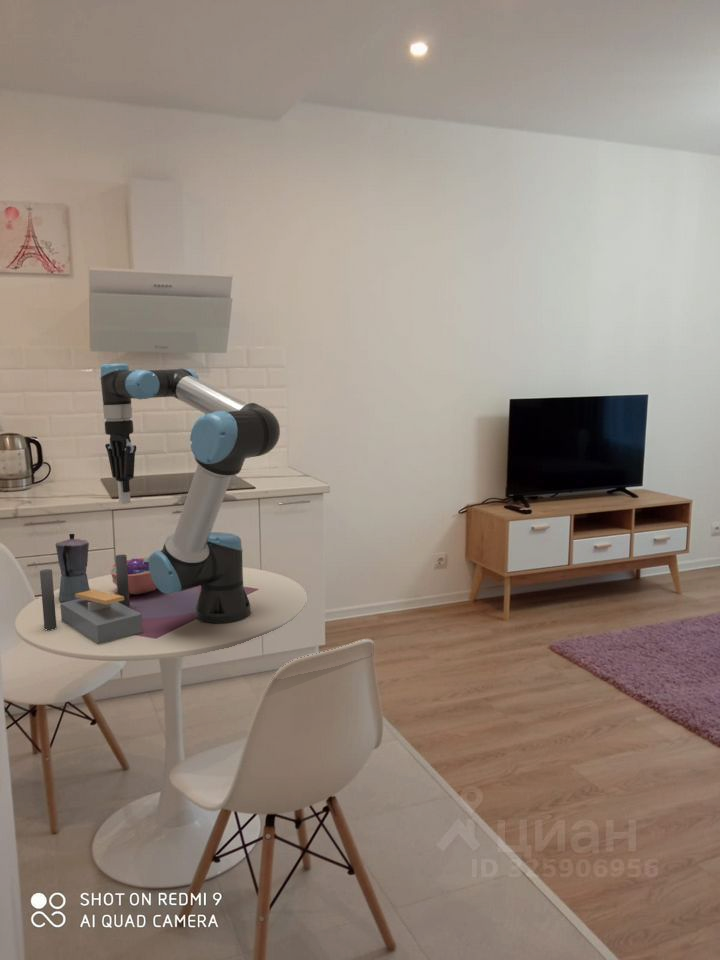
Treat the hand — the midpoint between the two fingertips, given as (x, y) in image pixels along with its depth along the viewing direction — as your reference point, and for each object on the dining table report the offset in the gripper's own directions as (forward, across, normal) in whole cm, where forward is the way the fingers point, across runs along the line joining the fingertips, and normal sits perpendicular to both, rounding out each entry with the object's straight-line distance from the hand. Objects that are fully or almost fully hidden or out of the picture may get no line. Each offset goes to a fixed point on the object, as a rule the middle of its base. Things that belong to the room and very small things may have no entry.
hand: (124, 503), depth 212 cm
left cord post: (+31, +2, +23) cm, 39 cm away
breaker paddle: (+23, -7, +13) cm, 27 cm away
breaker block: (+31, -7, +13) cm, 34 cm away
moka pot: (+31, +20, +8) cm, 37 cm away
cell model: (+31, +13, -10) cm, 35 cm away
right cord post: (+31, +1, +2) cm, 31 cm away
